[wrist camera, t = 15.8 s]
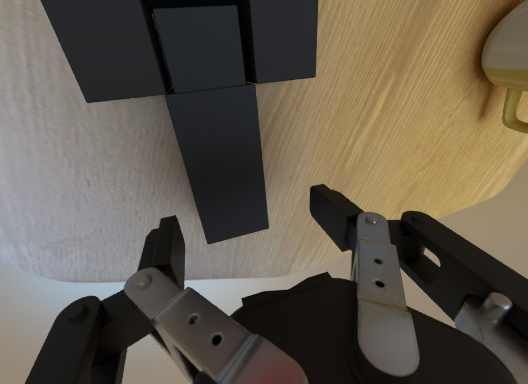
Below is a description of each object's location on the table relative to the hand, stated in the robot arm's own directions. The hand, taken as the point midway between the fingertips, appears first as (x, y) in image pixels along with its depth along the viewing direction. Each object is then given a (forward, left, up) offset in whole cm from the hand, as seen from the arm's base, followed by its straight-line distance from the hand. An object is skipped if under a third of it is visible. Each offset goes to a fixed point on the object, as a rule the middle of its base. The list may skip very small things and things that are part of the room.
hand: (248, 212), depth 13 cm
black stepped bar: (+2, 0, -10) cm, 10 cm away
